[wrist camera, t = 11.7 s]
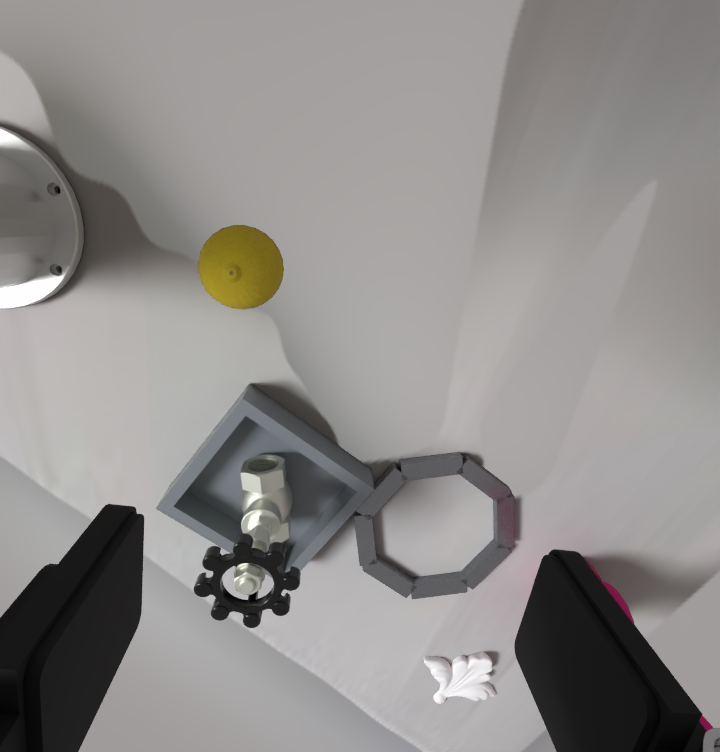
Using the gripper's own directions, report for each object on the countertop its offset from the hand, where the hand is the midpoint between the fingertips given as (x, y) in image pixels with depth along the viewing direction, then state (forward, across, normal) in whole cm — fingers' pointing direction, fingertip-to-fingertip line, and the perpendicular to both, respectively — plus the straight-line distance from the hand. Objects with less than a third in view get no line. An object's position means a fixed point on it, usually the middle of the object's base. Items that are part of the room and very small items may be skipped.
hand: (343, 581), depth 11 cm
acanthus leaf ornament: (+29, -19, +36) cm, 50 cm away
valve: (+28, +4, +15) cm, 32 cm away
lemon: (+28, +7, -4) cm, 30 cm away
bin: (+28, +4, +14) cm, 32 cm away
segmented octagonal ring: (+28, -12, +17) cm, 35 cm away
